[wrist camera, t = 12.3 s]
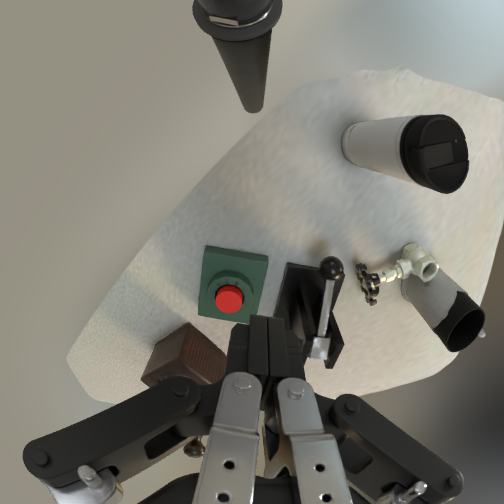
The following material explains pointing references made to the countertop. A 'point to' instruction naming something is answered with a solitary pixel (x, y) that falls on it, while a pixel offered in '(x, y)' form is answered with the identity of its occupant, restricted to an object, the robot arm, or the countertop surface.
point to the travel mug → (411, 150)
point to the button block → (231, 281)
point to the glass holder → (445, 309)
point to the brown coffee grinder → (186, 366)
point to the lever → (325, 306)
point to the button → (229, 299)
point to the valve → (398, 271)
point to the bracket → (308, 309)
